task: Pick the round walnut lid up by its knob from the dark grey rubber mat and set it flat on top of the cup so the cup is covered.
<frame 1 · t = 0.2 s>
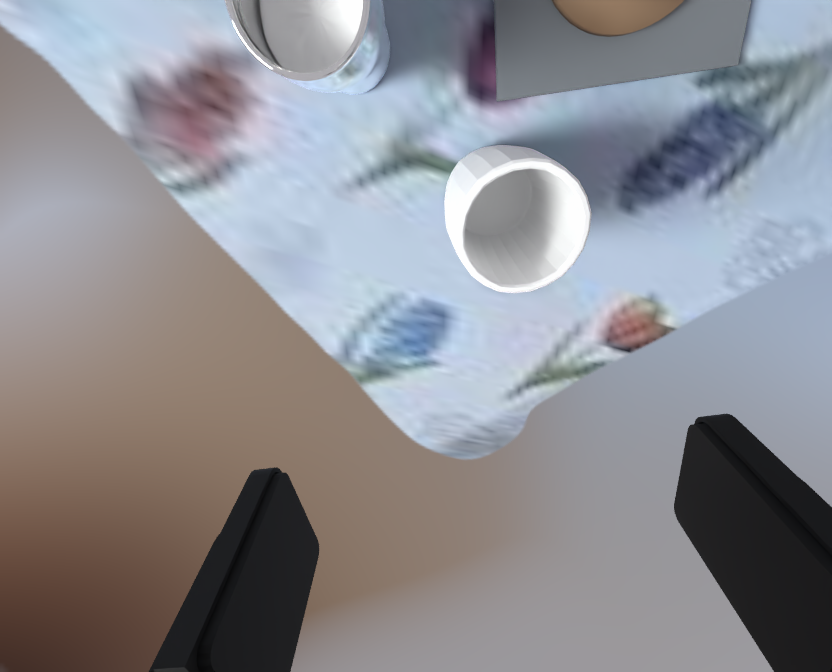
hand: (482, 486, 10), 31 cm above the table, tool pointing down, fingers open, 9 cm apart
cup: (487, 192, 36), on the table
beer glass: (351, 49, 31), on the table
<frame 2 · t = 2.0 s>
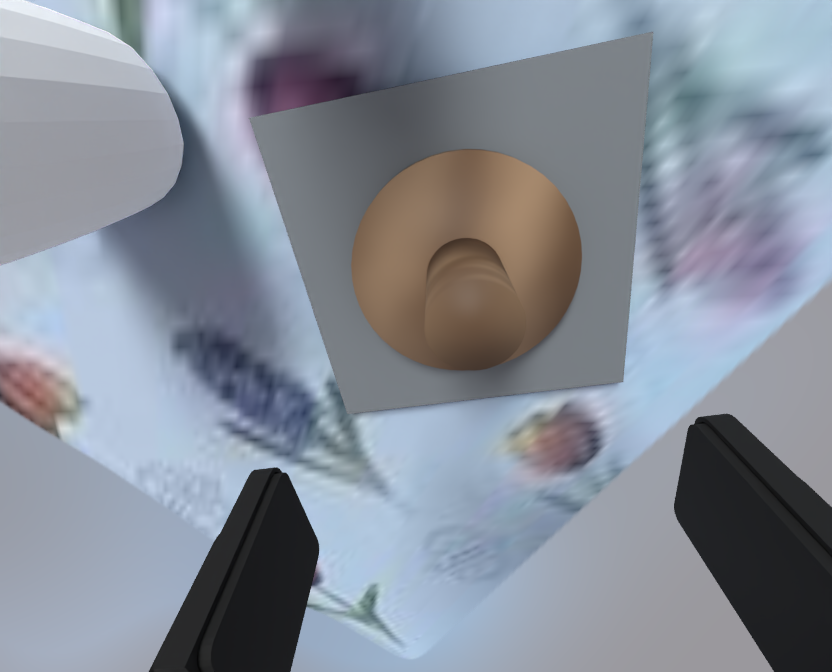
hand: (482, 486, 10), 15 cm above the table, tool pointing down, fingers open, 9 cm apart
cup: (119, 123, 20), on the table
mat: (462, 264, 23), on the table
lid: (463, 269, 22), point 1 cm above the table, touching mat
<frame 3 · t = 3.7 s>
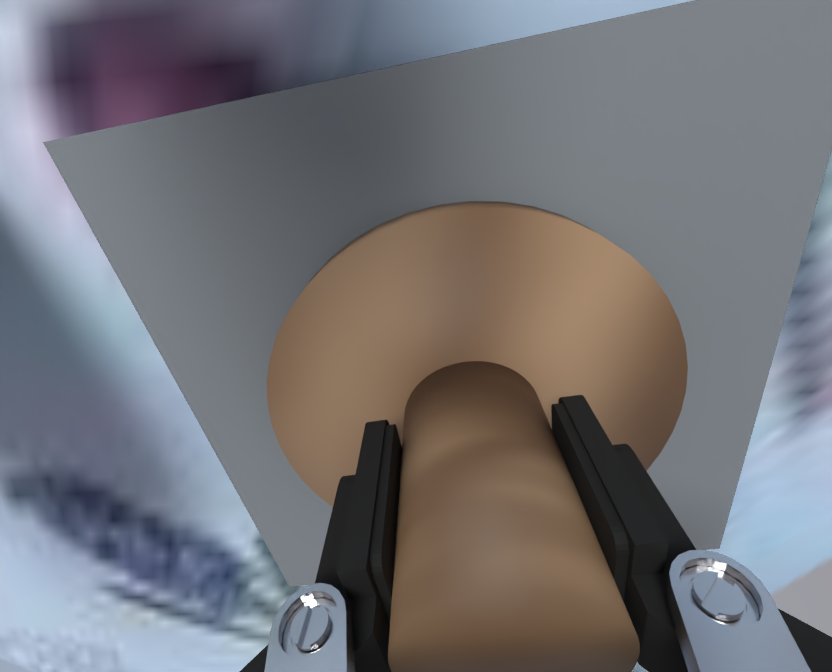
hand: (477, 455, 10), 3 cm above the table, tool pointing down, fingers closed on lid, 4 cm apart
mat: (466, 383, 13), on the table
lid: (468, 398, 13), point 1 cm above the table, touching gripper, mat
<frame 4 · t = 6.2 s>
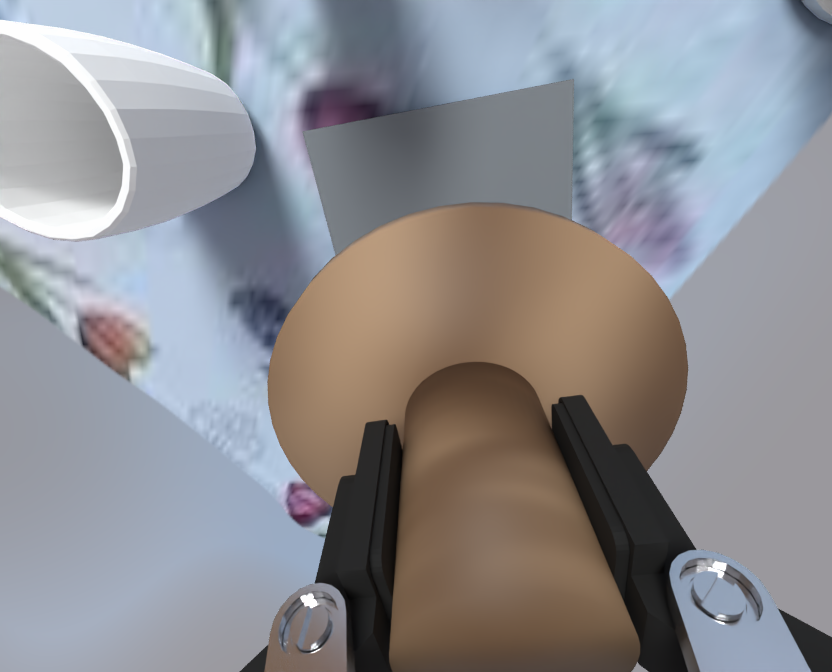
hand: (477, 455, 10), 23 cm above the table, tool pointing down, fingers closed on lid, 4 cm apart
cup: (207, 134, 28), on the table
mat: (450, 237, 31), on the table
lid: (469, 398, 13), point 21 cm above the table, touching gripper
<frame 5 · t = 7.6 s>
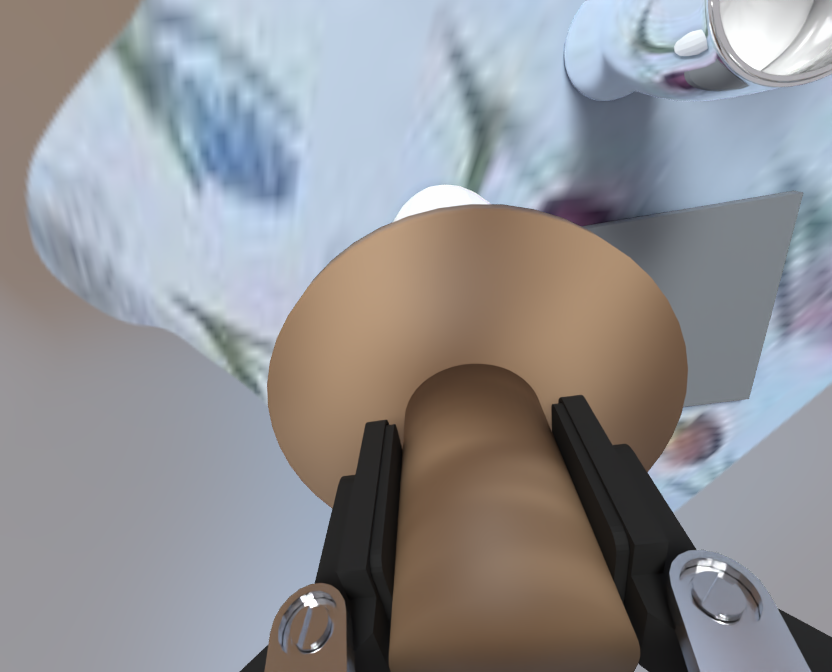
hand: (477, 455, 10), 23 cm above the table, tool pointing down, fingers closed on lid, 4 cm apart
cup: (444, 235, 31), on the table
mat: (650, 321, 33), on the table
lid: (468, 400, 13), point 20 cm above the table, touching gripper
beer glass: (612, 44, 25), on the table
when the fingers open (18 cm above the table, at t = 8.9 s): lid drops 1 cm, resting on cup.
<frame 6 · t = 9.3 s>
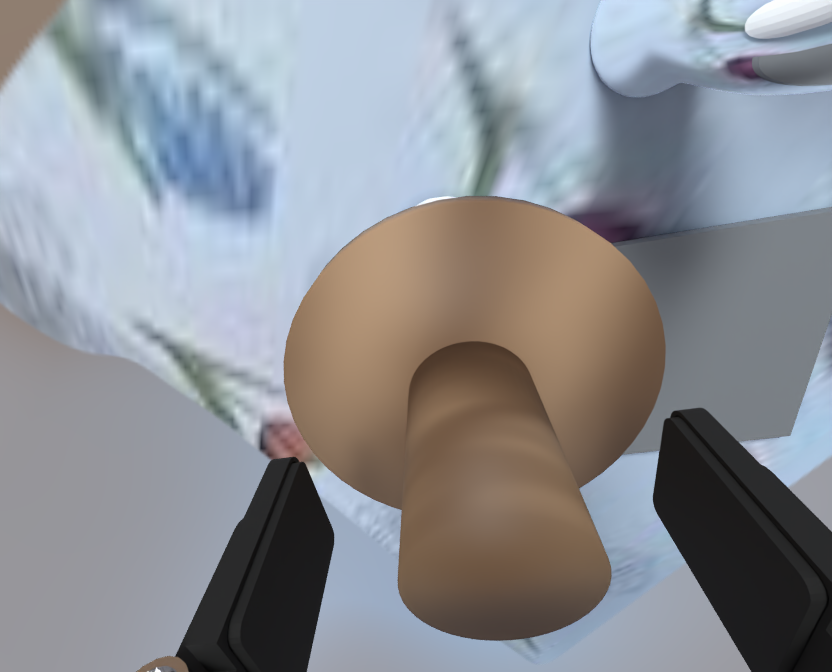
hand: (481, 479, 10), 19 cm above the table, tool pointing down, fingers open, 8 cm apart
mat: (680, 350, 29), on the table
lid: (467, 377, 14), point 14 cm above the table, touching cup
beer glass: (648, 29, 21), on the table
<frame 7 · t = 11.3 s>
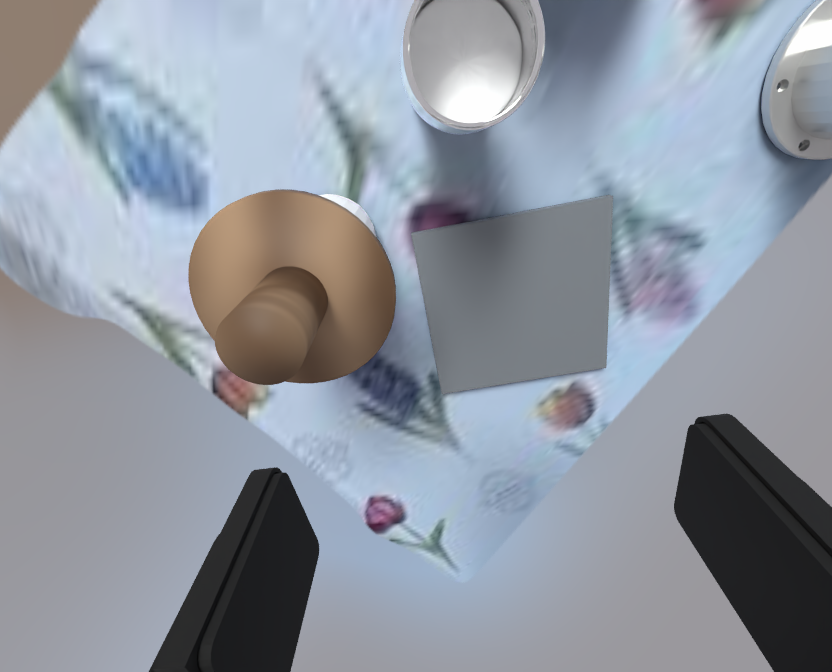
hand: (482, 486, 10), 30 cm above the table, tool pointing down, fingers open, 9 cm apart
cup: (335, 235, 37), on the table, touching lid
mat: (515, 303, 40), on the table
lid: (298, 292, 24), point 14 cm above the table, touching cup
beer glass: (446, 83, 32), on the table
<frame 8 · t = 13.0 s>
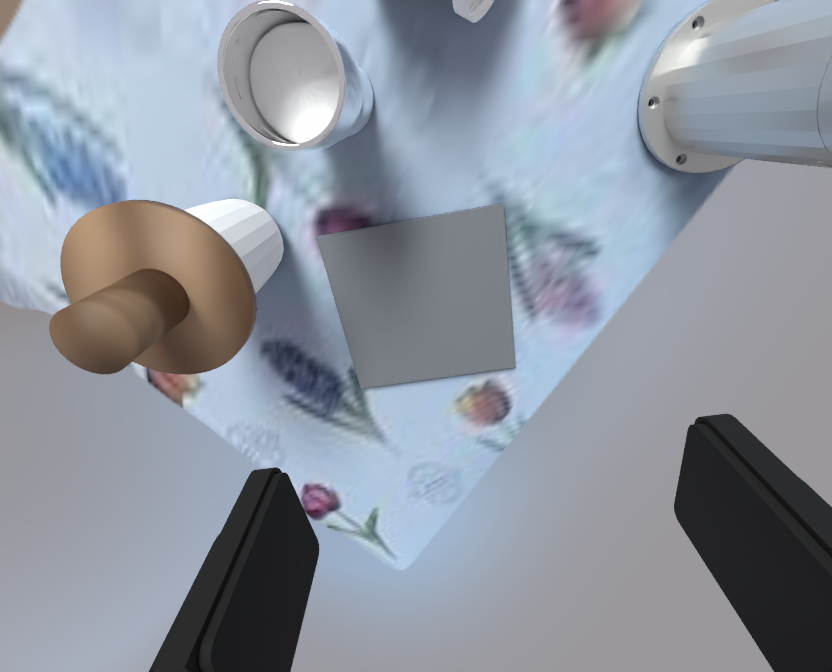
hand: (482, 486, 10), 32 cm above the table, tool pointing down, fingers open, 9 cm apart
cup: (248, 237, 40), on the table, touching lid
mat: (423, 304, 42), on the table
lid: (167, 292, 27), point 14 cm above the table, touching cup
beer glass: (338, 97, 34), on the table
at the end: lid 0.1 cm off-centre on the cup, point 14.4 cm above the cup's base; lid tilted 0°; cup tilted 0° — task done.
